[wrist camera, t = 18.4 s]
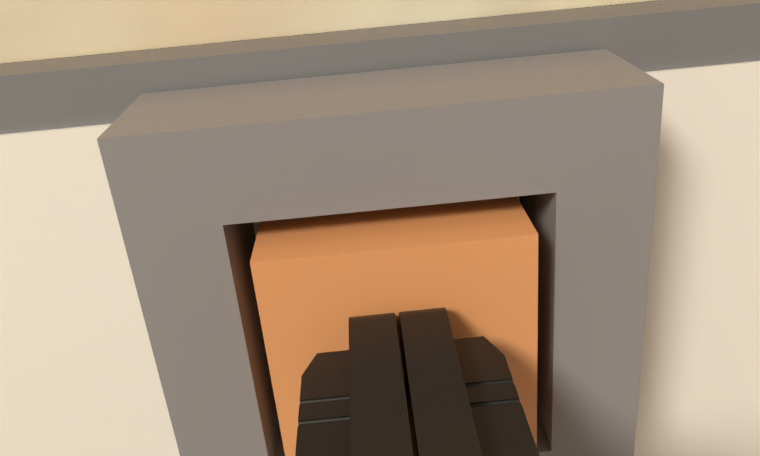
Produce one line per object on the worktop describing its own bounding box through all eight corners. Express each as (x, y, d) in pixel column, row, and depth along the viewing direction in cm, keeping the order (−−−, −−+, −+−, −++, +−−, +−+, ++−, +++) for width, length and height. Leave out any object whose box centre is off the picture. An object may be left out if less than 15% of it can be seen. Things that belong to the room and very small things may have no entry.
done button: (507, 371, 14) (536, 456, 12) (297, 392, 14) (290, 482, 12) (504, 175, 13) (538, 234, 11) (265, 198, 13) (250, 263, 11)
